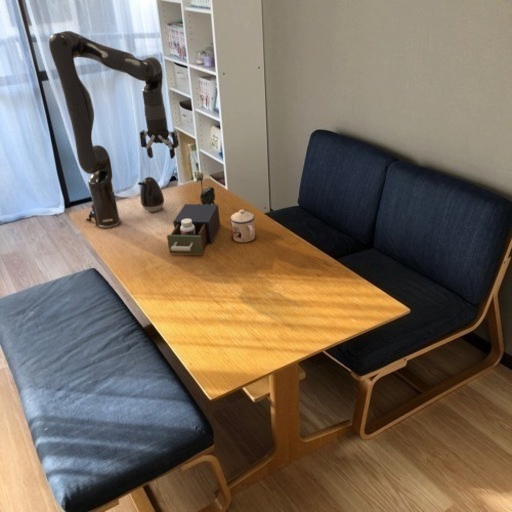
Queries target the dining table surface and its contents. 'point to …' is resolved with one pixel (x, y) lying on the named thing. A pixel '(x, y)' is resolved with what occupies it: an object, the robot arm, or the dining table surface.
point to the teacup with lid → (243, 226)
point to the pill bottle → (187, 227)
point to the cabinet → (201, 217)
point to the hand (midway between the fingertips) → (161, 157)
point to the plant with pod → (206, 192)
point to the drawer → (188, 240)
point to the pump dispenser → (151, 195)
